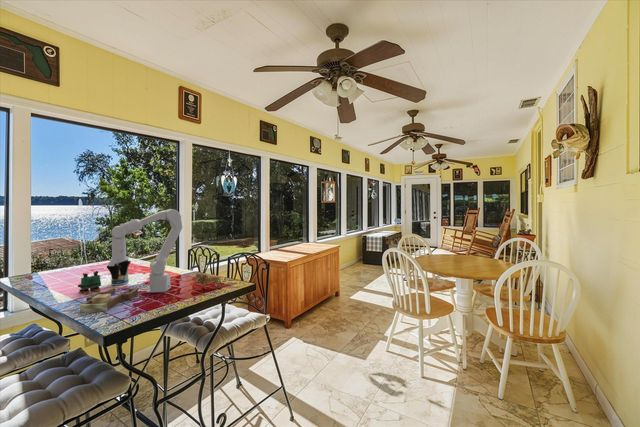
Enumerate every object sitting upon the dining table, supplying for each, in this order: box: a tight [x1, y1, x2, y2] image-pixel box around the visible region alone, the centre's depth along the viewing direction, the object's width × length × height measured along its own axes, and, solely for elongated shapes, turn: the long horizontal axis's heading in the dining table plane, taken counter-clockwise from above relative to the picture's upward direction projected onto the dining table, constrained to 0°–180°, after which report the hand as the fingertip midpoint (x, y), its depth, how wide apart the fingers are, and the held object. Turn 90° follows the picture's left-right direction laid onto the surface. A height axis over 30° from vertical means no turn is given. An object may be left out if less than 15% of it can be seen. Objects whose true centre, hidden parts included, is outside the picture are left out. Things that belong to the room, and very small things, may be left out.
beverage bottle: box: [110, 248, 129, 286], centre depth 166 cm, size 8×8×20 cm
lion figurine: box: [194, 272, 224, 289], centre depth 159 cm, size 15×5×9 cm, turn 114°
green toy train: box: [77, 270, 102, 295], centre depth 151 cm, size 9×11×10 cm
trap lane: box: [79, 286, 139, 313], centre depth 137 cm, size 16×26×3 cm, turn 9°
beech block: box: [92, 294, 112, 304], centre depth 130 cm, size 5×5×5 cm
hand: (119, 277), depth 145 cm, fingers open, 7 cm apart
